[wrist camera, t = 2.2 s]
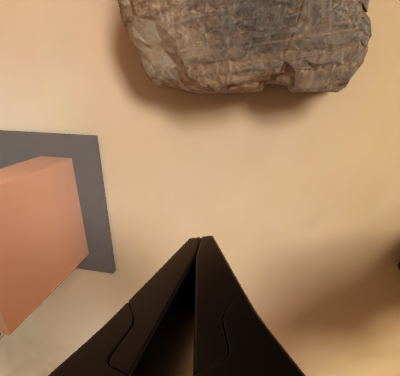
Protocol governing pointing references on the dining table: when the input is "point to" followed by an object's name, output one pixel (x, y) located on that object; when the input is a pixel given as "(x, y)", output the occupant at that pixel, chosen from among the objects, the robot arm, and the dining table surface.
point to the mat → (85, 180)
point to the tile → (37, 234)
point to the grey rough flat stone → (249, 43)
